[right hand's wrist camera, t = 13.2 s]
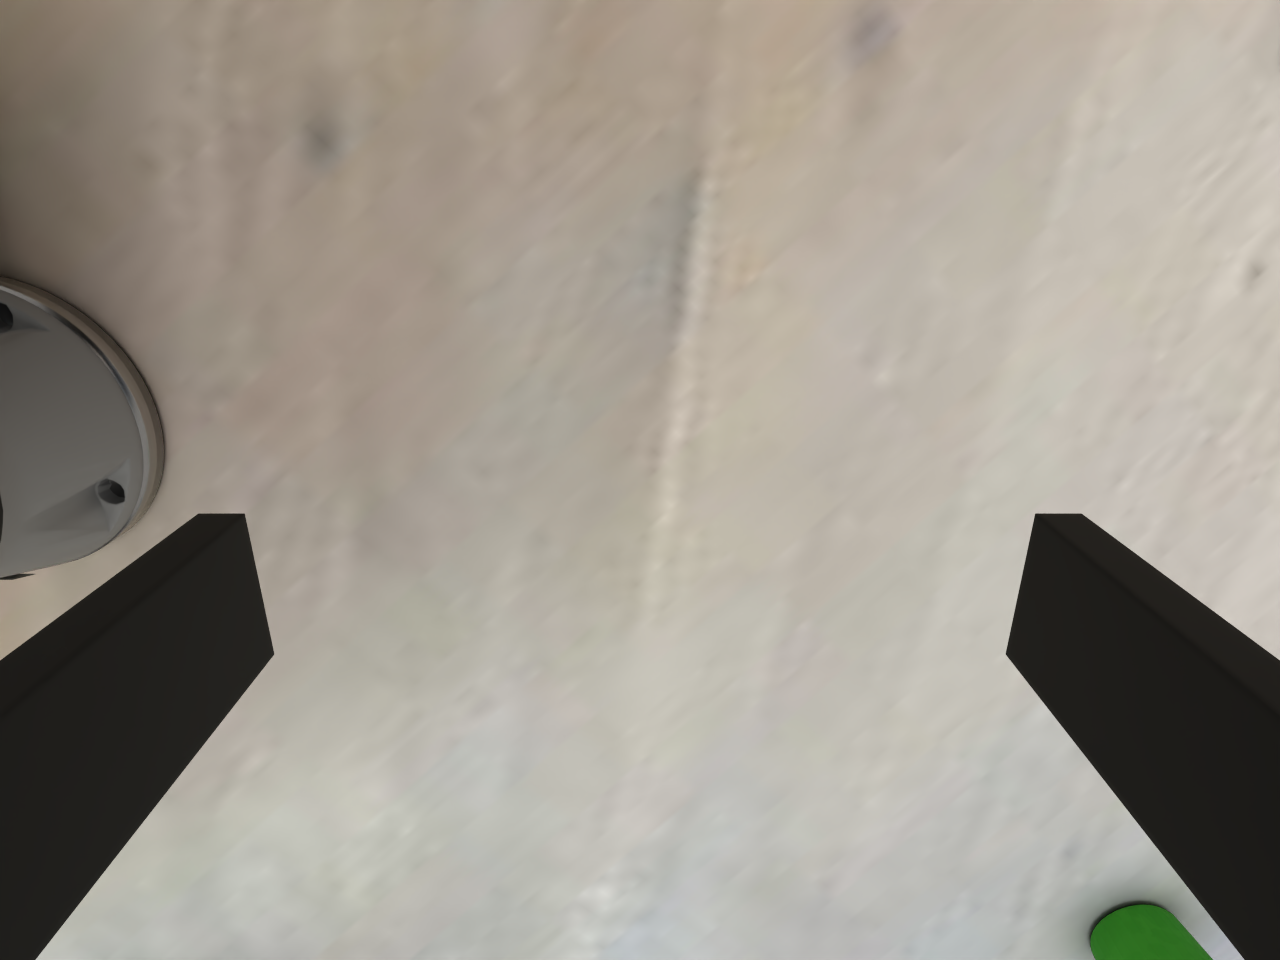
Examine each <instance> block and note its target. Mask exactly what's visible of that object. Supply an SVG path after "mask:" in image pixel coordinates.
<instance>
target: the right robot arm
mask: <svg viewBox="0 0 1280 960" xmlns="http://www.w3.org/2000/svg"><path fill="white" fill-rule="evenodd" d="M163 463H164V443H163V434H162V429H161V424H160V420H159V416H158V413H157V410H156V407H155V404H154V402H153V400H152V397H151V395H150V393H149V390H148V389H147V387H146V385H145V383H144V381H143V379H142V377H141V376H140V374H139V373H138V371H137V370H136V368H135V367H134V365H133V363H132V362H131V361H130V360H129V358H128V357H127V356H126V354H125V353H124V352H123V351H122V349H121V348H120V347H119V346H118V345H117V344H116V343H115V342H114V340H113V339H112V338H111V337H110V336H109V335H108V334H106V333H105V332H104V331H103V330H102V329H101V328H100V327H99V326H98V325H97V324H95V323H94V322H93V321H92V320H91V319H89V318H88V317H87V316H86V315H84V314H83V313H81V312H80V311H79V310H77V309H76V308H74V307H73V306H71V305H70V304H68V303H66V302H65V301H63V300H61V299H59V298H58V297H56V296H54V295H52V294H50V293H48V292H46V291H44V290H42V289H39V288H37V287H34V286H31V285H29V284H26V283H23V282H20V281H17V280H13V279H10V278H5V277H1V276H0V580H13V579H17V578H21V577H26V576H30V575H34V574H19V573H24V572H28V571H33V570H37V569H42V568H46V567H51V566H55V565H60V564H63V563H67V562H71V561H74V560H78V559H80V558H83V557H85V556H88V555H90V554H92V553H94V552H96V551H98V550H100V549H101V548H103V547H104V546H105V545H107V544H108V543H110V542H111V541H113V540H114V539H116V538H117V537H119V536H120V535H122V534H123V533H125V532H126V531H128V530H129V529H130V528H131V527H132V526H133V525H135V524H136V523H137V522H138V521H139V520H140V518H141V517H142V516H143V515H144V514H145V512H146V511H147V509H148V508H149V506H150V505H151V503H152V501H153V499H154V497H155V495H156V493H157V490H158V487H159V485H160V481H161V477H162V472H163ZM273 655H274V651H273V646H272V641H271V636H270V632H269V627H268V622H267V617H266V613H265V608H264V603H263V598H262V594H261V589H260V584H259V579H258V575H257V570H256V565H255V561H254V556H253V551H252V546H251V542H250V537H249V532H248V527H247V523H246V518H245V514H197V515H196V516H195V517H193V518H192V519H191V520H189V521H188V522H187V523H185V524H184V525H183V526H181V527H180V528H178V529H177V530H176V531H174V532H173V533H172V534H170V535H169V536H168V537H166V538H165V539H164V540H162V541H161V542H160V543H158V544H157V545H156V546H154V547H153V548H151V549H150V550H149V551H147V552H146V553H145V554H143V555H142V556H141V557H139V558H138V559H137V560H135V561H134V562H133V563H131V564H130V565H129V566H127V567H126V568H124V569H123V570H122V571H120V572H119V573H118V574H116V575H115V576H114V577H112V578H111V579H110V580H108V581H107V582H106V583H104V584H103V585H102V586H100V587H99V588H97V589H96V590H95V591H93V592H92V593H91V594H89V595H88V596H87V597H85V598H84V599H83V600H81V601H80V602H79V603H77V604H76V605H75V606H73V607H72V608H71V609H69V610H68V611H66V612H65V613H64V614H62V615H61V616H60V617H58V618H57V619H56V620H54V621H53V622H52V623H50V624H49V625H48V626H46V627H45V628H44V629H42V630H41V631H39V632H38V633H37V634H35V635H34V636H33V637H31V638H30V639H29V640H27V641H26V642H25V643H23V644H22V645H21V646H19V647H18V648H17V649H15V650H14V651H12V652H11V653H10V654H8V655H7V656H6V657H4V658H3V659H2V660H0V960H35V959H36V958H37V957H38V956H39V954H40V953H41V952H42V951H43V949H44V948H45V947H46V945H47V944H48V943H49V942H50V940H51V939H52V938H53V936H54V935H55V934H56V933H57V931H58V930H59V929H60V928H61V926H62V925H63V924H64V922H65V921H66V920H67V919H68V917H69V916H70V915H71V913H72V912H73V911H74V910H75V908H76V907H77V906H78V904H79V903H80V902H81V901H82V899H83V898H84V897H85V896H86V894H87V893H88V892H89V890H90V889H91V888H92V887H93V885H94V884H95V883H96V881H97V880H98V879H99V878H100V876H101V875H102V874H103V873H104V871H105V870H106V869H107V867H108V866H109V865H110V864H111V862H112V861H113V860H114V858H115V857H116V856H117V855H118V853H119V852H120V851H121V850H122V848H123V847H124V846H125V844H126V843H127V842H128V841H129V839H130V838H131V837H132V835H133V834H134V833H135V832H136V830H137V829H138V828H139V827H140V825H141V824H142V823H143V821H144V820H145V819H146V818H147V816H148V815H149V814H150V812H151V811H152V810H153V809H154V807H155V806H156V805H157V803H158V802H159V801H160V800H161V798H162V797H163V796H164V795H165V793H166V792H167V791H168V789H169V788H170V787H171V786H172V784H173V783H174V782H175V780H176V779H177V778H178V777H179V775H180V774H181V773H182V772H183V770H184V769H185V768H186V766H187V765H188V764H189V763H190V761H191V760H192V759H193V757H194V756H195V755H196V754H197V752H198V751H199V750H200V749H201V747H202V746H203V745H204V743H205V742H206V741H207V740H208V738H209V737H210V736H211V734H212V733H213V732H214V731H215V729H216V728H217V727H218V726H219V724H220V723H221V722H222V720H223V719H224V718H225V717H226V715H227V714H228V713H229V711H230V710H231V709H232V708H233V706H234V705H235V704H236V702H237V701H238V700H239V699H240V697H241V696H242V695H243V694H244V692H245V691H246V690H247V688H248V687H249V686H250V685H251V683H252V682H253V681H254V679H255V678H256V677H257V676H258V674H259V673H260V672H261V671H262V669H263V668H264V667H265V665H266V664H267V663H268V662H269V660H270V659H271V658H272V656H273ZM1006 655H1007V656H1008V658H1009V659H1010V660H1011V662H1012V663H1013V664H1014V665H1015V667H1016V668H1017V669H1018V671H1019V672H1020V673H1021V674H1022V676H1023V677H1024V678H1025V679H1026V681H1027V682H1028V683H1029V685H1030V686H1031V687H1032V688H1033V690H1034V691H1035V692H1036V694H1037V695H1038V696H1039V697H1040V699H1041V700H1042V701H1043V702H1044V704H1045V705H1046V706H1047V708H1048V709H1049V710H1050V711H1051V713H1052V714H1053V715H1054V717H1055V718H1056V719H1057V720H1058V722H1059V723H1060V724H1061V726H1062V727H1063V728H1064V729H1065V731H1066V732H1067V733H1068V734H1069V736H1070V737H1071V738H1072V740H1073V741H1074V742H1075V743H1076V745H1077V746H1078V747H1079V749H1080V750H1081V751H1082V752H1083V754H1084V755H1085V756H1086V757H1087V759H1088V760H1089V761H1090V763H1091V764H1092V765H1093V766H1094V768H1095V769H1096V770H1097V772H1098V773H1099V774H1100V775H1101V777H1102V778H1103V779H1104V780H1105V782H1106V783H1107V784H1108V786H1109V787H1110V788H1111V789H1112V791H1113V792H1114V793H1115V795H1116V796H1117V797H1118V798H1119V800H1120V801H1121V802H1122V803H1123V805H1124V806H1125V807H1126V809H1127V810H1128V811H1129V812H1130V814H1131V815H1132V816H1133V818H1134V819H1135V820H1136V821H1137V823H1138V824H1139V825H1140V827H1141V828H1142V829H1143V830H1144V832H1145V833H1146V834H1147V835H1148V837H1149V838H1150V839H1151V841H1152V842H1153V843H1154V844H1155V846H1156V847H1157V848H1158V850H1159V851H1160V852H1161V853H1162V855H1163V856H1164V857H1165V858H1166V860H1167V861H1168V862H1169V864H1170V865H1171V866H1172V867H1173V869H1174V870H1175V871H1176V873H1177V874H1178V875H1179V876H1180V878H1181V879H1182V880H1183V881H1184V883H1185V884H1186V885H1187V887H1188V888H1189V889H1190V890H1191V892H1192V893H1193V894H1194V896H1195V897H1196V898H1197V899H1198V901H1199V902H1200V903H1201V904H1202V906H1203V907H1204V908H1205V910H1206V911H1207V912H1208V913H1209V915H1210V916H1211V917H1212V919H1213V920H1214V921H1215V922H1216V924H1217V925H1218V926H1219V928H1220V929H1221V930H1222V931H1223V933H1224V934H1225V935H1226V936H1227V938H1228V939H1229V940H1230V942H1231V943H1232V944H1233V945H1234V947H1235V948H1236V949H1237V951H1238V952H1239V953H1240V954H1241V956H1242V957H1243V958H1244V959H1245V960H1280V660H1278V659H1277V658H1276V657H1274V656H1273V655H1272V654H1270V653H1269V652H1268V651H1266V650H1265V649H1263V648H1262V647H1261V646H1259V645H1258V644H1257V643H1255V642H1254V641H1253V640H1251V639H1250V638H1249V637H1247V636H1246V635H1245V634H1243V633H1242V632H1241V631H1239V630H1238V629H1236V628H1235V627H1234V626H1232V625H1231V624H1230V623H1228V622H1227V621H1226V620H1224V619H1223V618H1222V617H1220V616H1219V615H1218V614H1216V613H1215V612H1214V611H1212V610H1211V609H1209V608H1208V607H1207V606H1205V605H1204V604H1203V603H1201V602H1200V601H1199V600H1197V599H1196V598H1195V597H1193V596H1192V595H1191V594H1189V593H1188V592H1187V591H1185V590H1184V589H1183V588H1181V587H1180V586H1178V585H1177V584H1176V583H1174V582H1173V581H1172V580H1170V579H1169V578H1168V577H1166V576H1165V575H1164V574H1162V573H1161V572H1160V571H1158V570H1157V569H1156V568H1154V567H1153V566H1151V565H1150V564H1149V563H1147V562H1146V561H1145V560H1143V559H1142V558H1141V557H1139V556H1138V555H1137V554H1135V553H1134V552H1133V551H1131V550H1130V549H1129V548H1127V547H1126V546H1124V545H1123V544H1122V543H1120V542H1119V541H1118V540H1116V539H1115V538H1114V537H1112V536H1111V535H1110V534H1108V533H1107V532H1106V531H1104V530H1103V529H1102V528H1100V527H1099V526H1097V525H1096V524H1095V523H1093V522H1092V521H1091V520H1089V519H1088V518H1087V517H1085V516H1084V515H1083V514H1035V518H1034V523H1033V527H1032V532H1031V537H1030V542H1029V546H1028V551H1027V556H1026V561H1025V565H1024V570H1023V575H1022V579H1021V584H1020V589H1019V594H1018V598H1017V603H1016V608H1015V613H1014V617H1013V622H1012V627H1011V632H1010V636H1009V641H1008V646H1007V651H1006Z"/></svg>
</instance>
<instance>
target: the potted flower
mask: <svg viewBox="0 0 1280 960" xmlns="http://www.w3.org/2000/svg"><path fill="white" fill-rule="evenodd" d="M1090 946H1091V950H1092V953H1093V955H1094V957H1095V959H1096V960H1213V959H1212V958H1211V957H1210V956H1209V955H1208V954H1207V952H1206V951H1205V950H1204V949H1203V948H1202V947H1201V946H1200V945H1199V943H1198V942H1197V941H1196V940H1195V939H1194V938H1193V937H1192V935H1191V934H1190V933H1189V932H1188V931H1187V930H1186V929H1185V928H1184V926H1183V925H1182V924H1181V923H1180V922H1179V921H1178V920H1177V918H1176V917H1175V916H1174V915H1173V914H1171V913H1170V912H1168V911H1167V910H1165V909H1163V908H1160V907H1158V906H1153V905H1133V906H1129V907H1125V908H1122V909H1119V910H1117V911H1114V912H1113V913H1111V914H1109V915H1107V916H1106V917H1105V918H1103V919H1102V920H1101V921H1100V922H1099V923H1098V924H1097V925H1096V927H1095V928H1094V930H1093V932H1092V935H1091V940H1090Z"/></svg>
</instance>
